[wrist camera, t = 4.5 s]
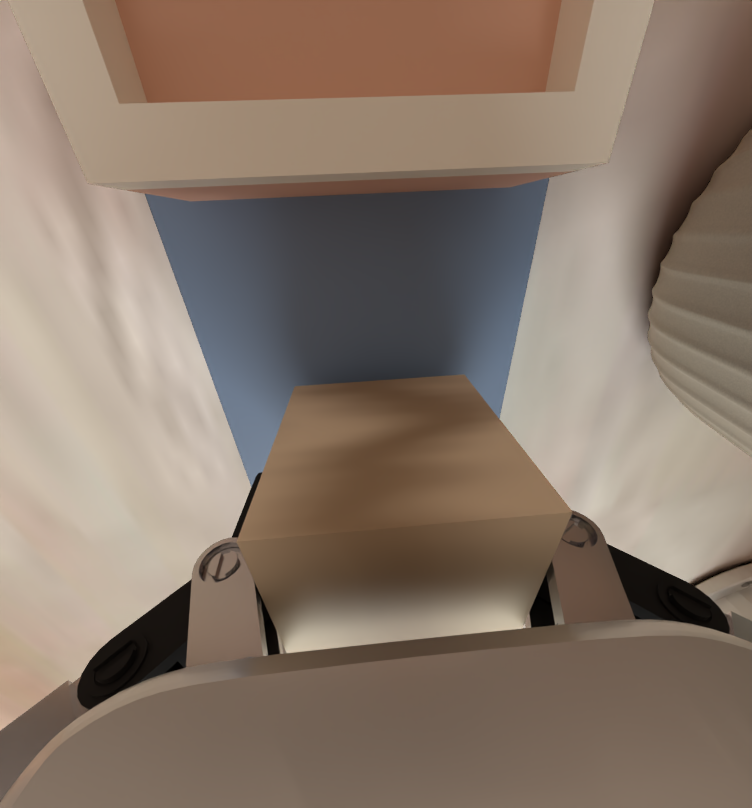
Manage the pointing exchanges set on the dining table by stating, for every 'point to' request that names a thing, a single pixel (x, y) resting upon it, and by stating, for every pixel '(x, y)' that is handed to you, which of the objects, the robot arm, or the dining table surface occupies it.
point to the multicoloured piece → (340, 169)
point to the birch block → (397, 516)
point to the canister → (710, 304)
